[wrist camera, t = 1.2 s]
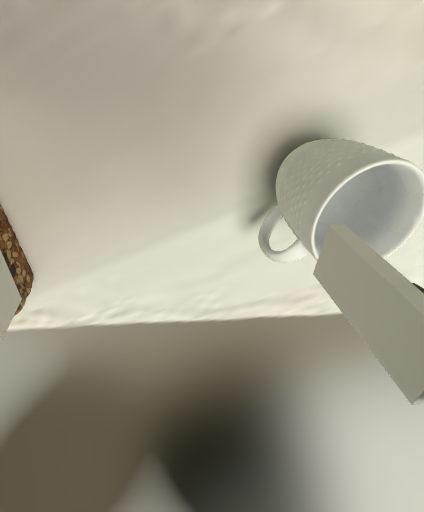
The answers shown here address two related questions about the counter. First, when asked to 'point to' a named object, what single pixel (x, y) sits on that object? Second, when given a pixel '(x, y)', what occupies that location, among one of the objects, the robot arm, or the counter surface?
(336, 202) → the mug
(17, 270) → the bread
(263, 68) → the counter surface
